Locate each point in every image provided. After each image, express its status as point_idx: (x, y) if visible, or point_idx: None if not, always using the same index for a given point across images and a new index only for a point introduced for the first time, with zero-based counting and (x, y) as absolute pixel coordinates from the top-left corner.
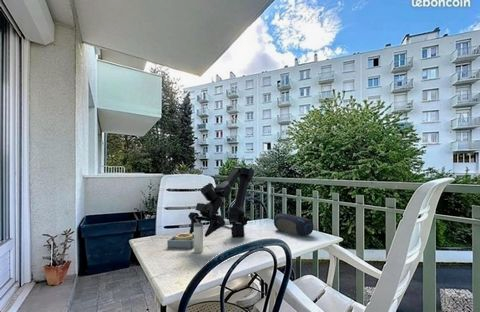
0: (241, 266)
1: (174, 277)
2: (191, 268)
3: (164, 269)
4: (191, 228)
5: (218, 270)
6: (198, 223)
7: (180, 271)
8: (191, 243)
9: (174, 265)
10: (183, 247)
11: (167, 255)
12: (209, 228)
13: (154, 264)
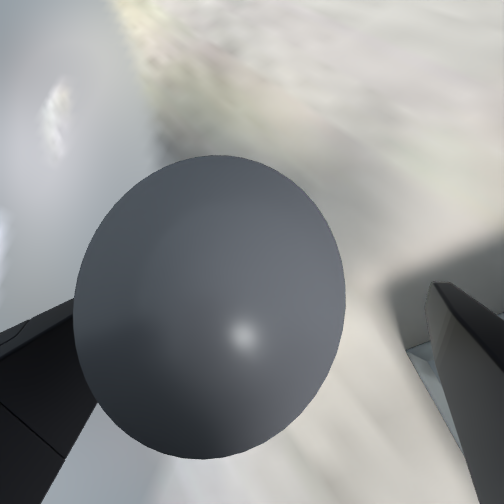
0: (3, 231)
1: (173, 8)
2: (166, 95)
3: (266, 12)
4: (478, 334)
5: (64, 148)
6: (174, 274)
7: (188, 48)
8: (427, 352)
9: (260, 64)
10: (497, 315)
11: (447, 123)
12: (24, 321)
13: (370, 2)
